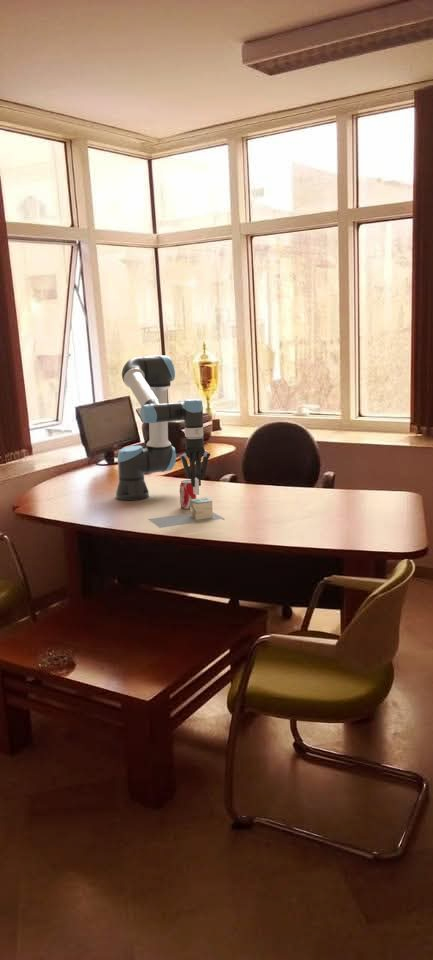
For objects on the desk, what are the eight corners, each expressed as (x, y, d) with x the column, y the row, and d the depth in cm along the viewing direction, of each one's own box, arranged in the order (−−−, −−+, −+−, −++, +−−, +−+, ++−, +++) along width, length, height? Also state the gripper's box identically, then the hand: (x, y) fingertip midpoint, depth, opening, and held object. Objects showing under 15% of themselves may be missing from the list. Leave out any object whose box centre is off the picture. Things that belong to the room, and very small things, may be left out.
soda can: (194, 510, 331) (193, 483, 329) (178, 510, 333) (177, 482, 330) (198, 506, 338) (197, 479, 336) (182, 506, 340) (181, 479, 337)
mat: (147, 519, 318) (147, 519, 318) (209, 511, 329) (209, 510, 329) (159, 528, 305) (159, 527, 305) (224, 519, 316) (224, 518, 316)
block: (205, 497, 323) (206, 513, 324) (190, 499, 320) (190, 515, 322) (212, 500, 316) (212, 517, 318) (196, 503, 314) (196, 519, 315)
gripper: (182, 440, 306) (184, 497, 311) (212, 437, 311) (214, 494, 316) (175, 437, 313) (178, 494, 318) (205, 434, 318) (207, 490, 323)
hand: (196, 494), depth 317 cm, fingers closed
